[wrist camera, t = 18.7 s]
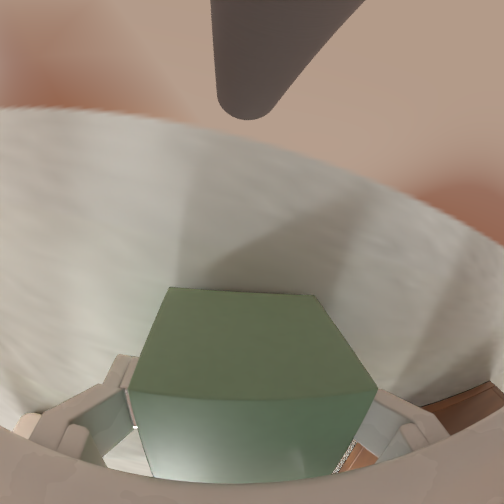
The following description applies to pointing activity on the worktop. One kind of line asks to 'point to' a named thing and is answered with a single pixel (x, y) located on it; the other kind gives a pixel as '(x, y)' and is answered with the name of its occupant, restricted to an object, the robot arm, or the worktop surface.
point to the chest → (445, 418)
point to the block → (246, 388)
